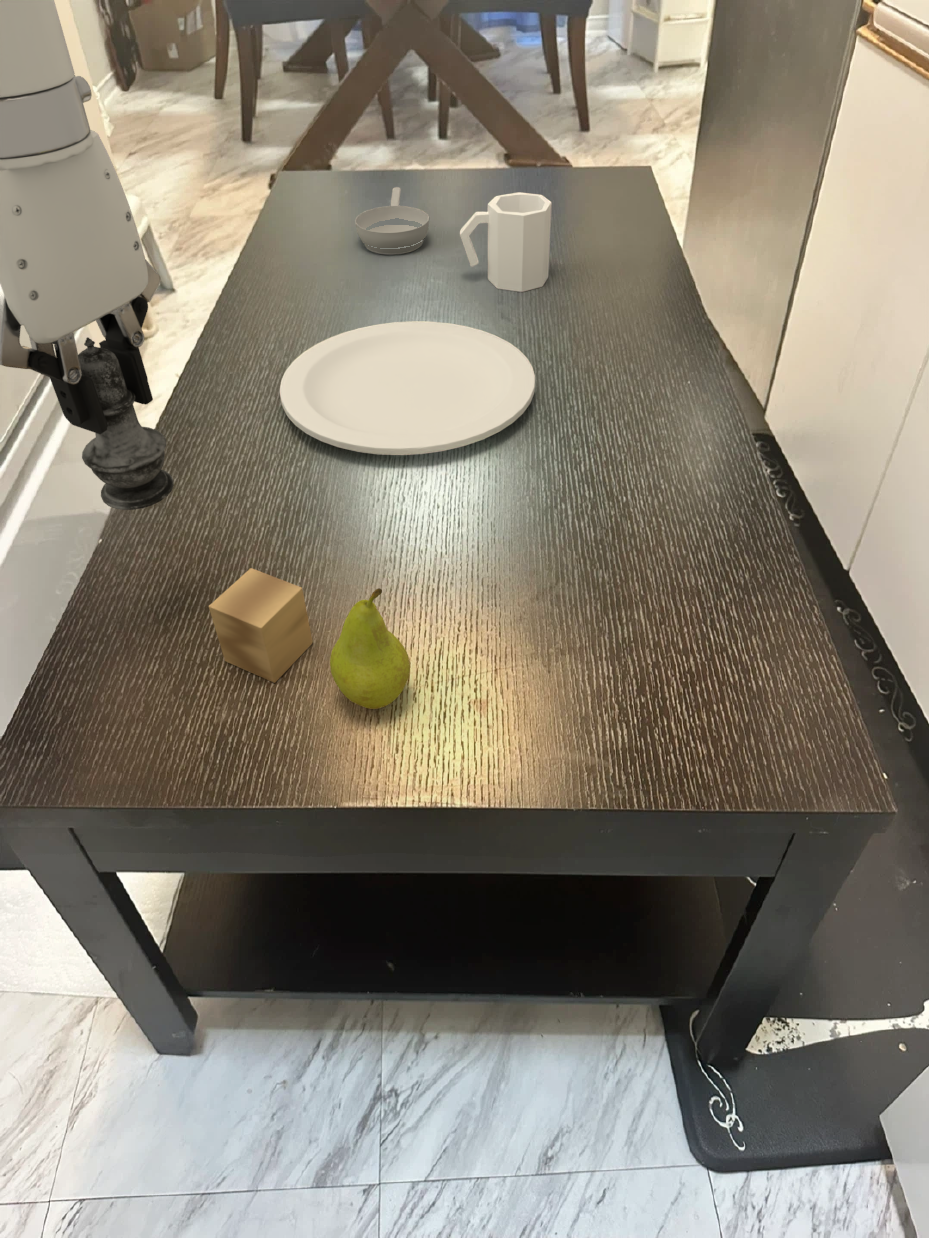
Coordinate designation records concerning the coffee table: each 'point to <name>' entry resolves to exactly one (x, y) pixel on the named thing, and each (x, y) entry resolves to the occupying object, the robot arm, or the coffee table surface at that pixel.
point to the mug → (514, 240)
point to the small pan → (392, 227)
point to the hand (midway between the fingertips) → (111, 410)
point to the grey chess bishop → (123, 439)
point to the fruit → (369, 658)
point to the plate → (407, 388)
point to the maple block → (262, 624)
